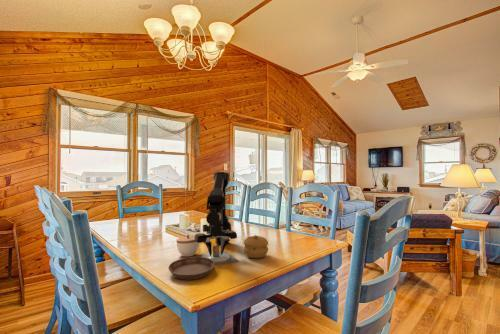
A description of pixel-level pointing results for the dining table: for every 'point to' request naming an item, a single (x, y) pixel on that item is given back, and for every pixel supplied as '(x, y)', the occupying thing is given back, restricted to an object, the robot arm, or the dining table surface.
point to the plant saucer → (191, 267)
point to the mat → (231, 260)
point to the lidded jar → (187, 245)
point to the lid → (217, 255)
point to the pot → (255, 246)
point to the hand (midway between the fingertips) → (215, 255)
